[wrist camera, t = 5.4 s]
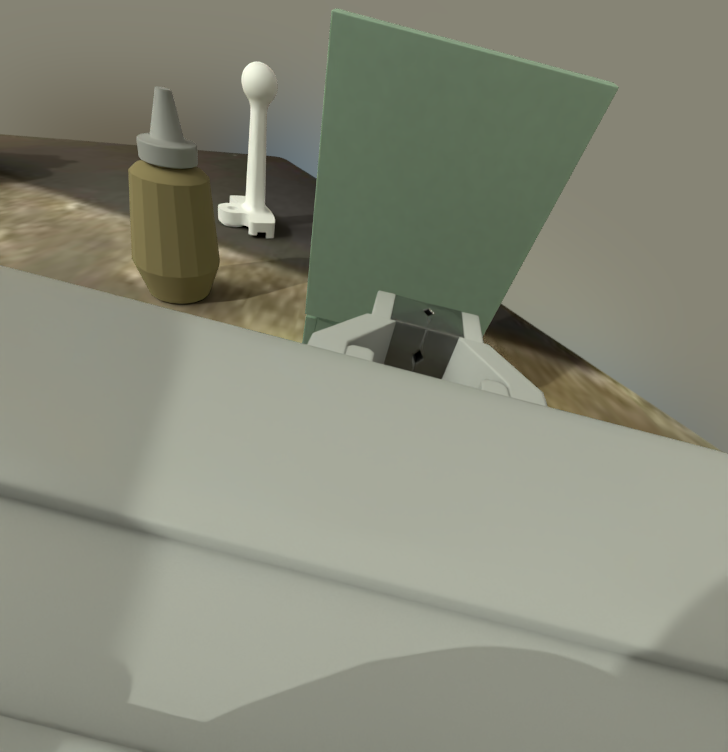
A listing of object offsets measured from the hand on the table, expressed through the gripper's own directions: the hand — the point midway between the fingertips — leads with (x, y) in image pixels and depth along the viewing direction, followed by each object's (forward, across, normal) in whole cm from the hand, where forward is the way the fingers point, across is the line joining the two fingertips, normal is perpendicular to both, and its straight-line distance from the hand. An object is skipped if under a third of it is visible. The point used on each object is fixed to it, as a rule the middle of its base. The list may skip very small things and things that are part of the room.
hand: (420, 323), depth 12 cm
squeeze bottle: (+26, +22, +18) cm, 38 cm away
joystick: (+49, +24, +18) cm, 57 cm away
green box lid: (+12, 0, +1) cm, 12 cm away
